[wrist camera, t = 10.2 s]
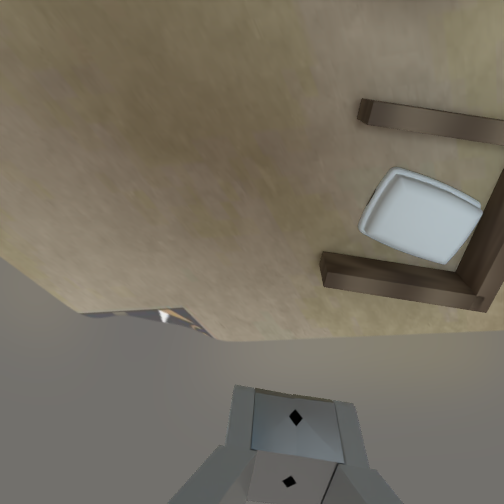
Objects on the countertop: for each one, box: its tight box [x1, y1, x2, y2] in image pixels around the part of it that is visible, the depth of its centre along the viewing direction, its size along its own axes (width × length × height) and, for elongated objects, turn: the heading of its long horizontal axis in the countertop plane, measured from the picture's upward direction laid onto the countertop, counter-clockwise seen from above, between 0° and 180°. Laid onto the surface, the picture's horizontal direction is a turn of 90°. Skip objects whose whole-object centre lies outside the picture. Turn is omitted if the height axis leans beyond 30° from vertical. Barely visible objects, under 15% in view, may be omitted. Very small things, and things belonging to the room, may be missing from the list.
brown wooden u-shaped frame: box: [320, 99, 504, 313], centre depth 29 cm, size 14×15×4 cm
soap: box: [358, 167, 483, 265], centre depth 30 cm, size 9×7×3 cm
